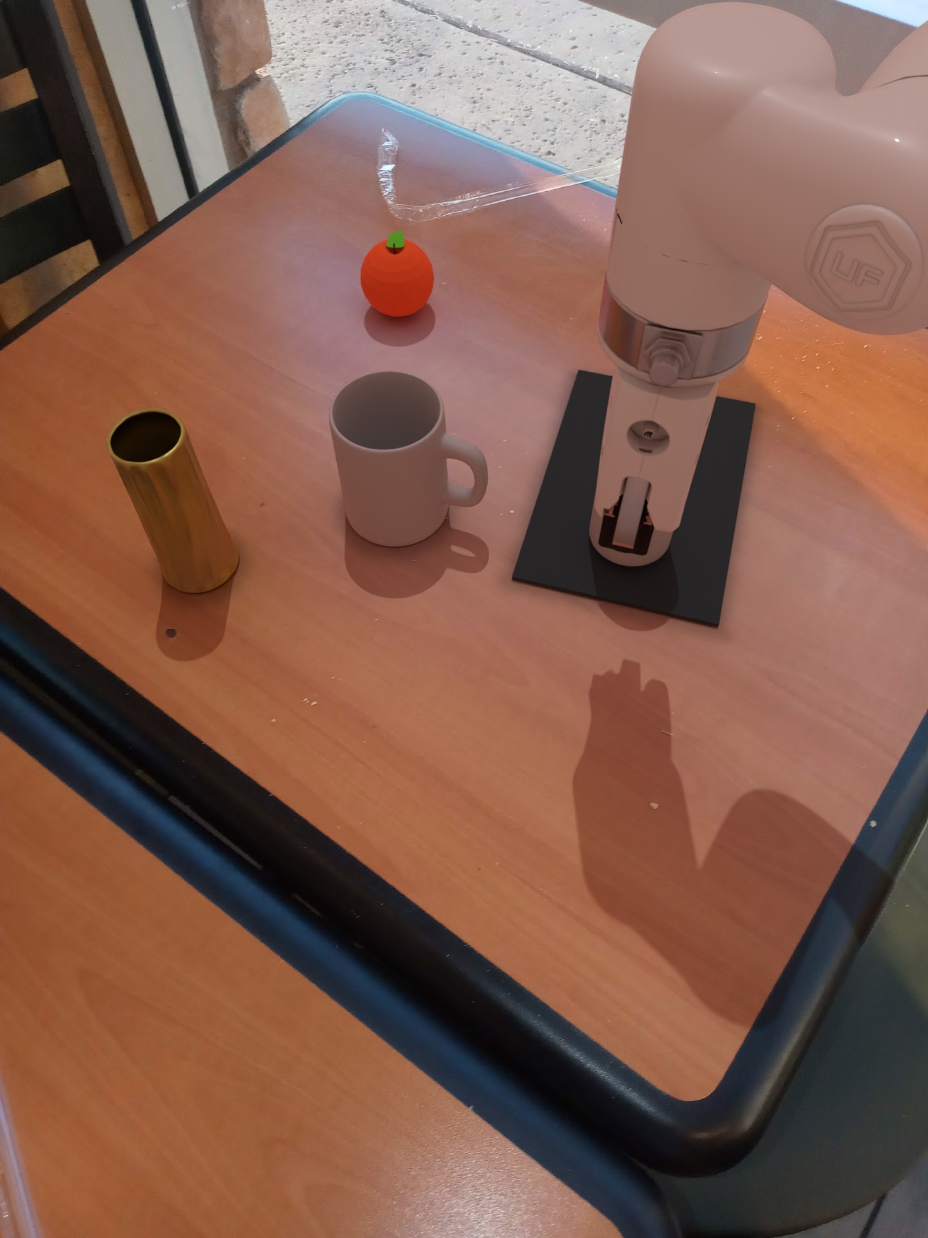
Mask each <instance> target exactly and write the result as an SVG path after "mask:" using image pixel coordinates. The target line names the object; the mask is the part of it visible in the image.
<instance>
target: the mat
mask: <svg viewBox="0 0 928 1238" xmlns="http://www.w3.org/2000/svg"><path fill="white" fill-rule="evenodd" d="M612 378H613V375H609V374H606V373H605V374H604V373H600V372H593V371H589V370H583V369H578V370H577V373H576V376H575V379H574V382H573V385H572V389H571V391H570V395H569V398H568V401H567V404H566V407H565V410H564V413H563V417H562V419H561V423H560V426H559V429H558V432H557V435H556V438H555V441H554V444H553V447H552V451H551V454H550V456H549V460H548V463H547V466H546V470H545V473H544V475H543V479H542V482H541V485H540V488H539V490H538V494H537V498H536V501H535V504H534V506H533V510H532V513H531V516H530V519H529V522H528V525H527V529H526V532H525V534H524V538H523V542H522V544H521V548H520V549H519V550H520V551H519V554H518V557H517V560H516V562H515V566H514V569H513V572H512V575H511V580H513V581H518V582H522V583H526V584H530V585H535V586H539V587H544V588H548V589H552V590H557V591H560V592H565V593H570V594H574V595H579V596H582V597H586V598H590V599H595V600H599V601H604V602H609V603H613V604H616V605H622V606H626V607H630V608H634V609H639V610H643V611H647V612H651V613H656V614H660V615H664V616H669V617H673V618H677V619H681V620H685V621H691V622H695V623H699V624H703V625H706V626H707V625H708V626H712V627H715V628H716V627H717V628H718V627H719V625H720V620H721V615H722V610H723V609H722V608H723V603H724V597H725V589H726V584H727V578H728V573H729V567H730V560H731V555H732V550H733V549H732V548H733V542H734V537H735V531H736V524H737V519H738V514H739V513H738V512H739V507H740V501H741V494H742V488H743V484H744V483H743V482H744V476H745V471H746V464H747V459H748V453H749V447H750V440H751V435H752V428H753V423H754V417H755V410H756V402H750V401H745V400H740V399H735V398H730V397H725V396H719V395H716V399H715V403H714V407H713V410H712V414H711V417H710V421H709V424H708V428H707V431H706V435H705V438H704V441H703V445H702V448H701V452H700V455H699V458H698V462H697V465H696V468H695V472H694V475H693V479H692V482H691V485H690V489H689V492H688V496H687V499H686V503H685V507H684V510H683V514H682V518H681V521H680V525H679V527H678V528H676V529H675V530H674V531H673V534H672V537H671V540H670V544H669V546H668V548H667V550H666V552H665V553H664V554H663V555H662V556H661V557H660V558H659V559H657V560H656V561H654V562H652V563H649V564H646V565H642V566H625V565H620V564H617V563H614V562H612V561H610V560H608V559H606V558H605V557H603V556H602V555H601V554H600V553H599V552H598V551H597V550H596V549H595V547H594V546H593V544H592V541H591V538H590V535H589V527H590V521H591V516H592V510H593V504H594V499H595V493H596V487H597V478H598V470H599V462H600V454H601V447H602V440H603V433H604V426H605V420H606V414H607V408H608V402H609V396H610V389H611V383H612Z"/></svg>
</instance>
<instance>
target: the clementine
mask: <svg viewBox="0 0 928 1238" xmlns="http://www.w3.org/2000/svg"><path fill="white" fill-rule="evenodd" d="M361 264H362V265H361V267H360V275H359V276H360V277H359V278H360V287H361V289H362V293H363V295H364V297H365V299H366V300H367V302H368V303H369V304H370V306H372V307H373V308H374V309H375V310H377V311H378V312H380V313H381V314H383V315H386V316H389V317H394V318H401V317H407V316H411V315H413V314H415V313H417V312H418V311H419V310H421V309H422V308H423V307H424V306H425V305H426V304H427V302H428V301H429V299H430V297H431V295H432V292H433V289H434V283H435V273H434V269H433V264H432V262H431V261H430V258H429V256H428V255H427V253H426V252H425V251H424V250H423V248H421V247H420V246H419V245H418V244H416V243H415V242H413V241H411V240H408V239H405V235H404V232H403V231H402V230H394V231H392V232H391V233H390V235H389V236H388V238H387V239H384V240H382V241H379V242H377V243H376V244H375V245H373V246H372V247H371V249H370V250H369V251H368V252H367V253H366V255H365V256H364V259H363V261H362V263H361Z"/></svg>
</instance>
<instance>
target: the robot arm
mask: <svg viewBox="0 0 928 1238" xmlns="http://www.w3.org/2000/svg"><path fill="white" fill-rule="evenodd" d="M836 67H837V65H836V58H835V56H834V54H833V50H832V47H831V44H830V43H829V42H828V40H827V39H826V38H825V37H824V36H823V34H822V33H821V32H820V31H819V30H818V29H817V28H816V27H815V26H814V25H813V24H811V23H810V22H809V21H807V20H805V19H804V18H802V17H799V16H798V15H796V14H793V13H791V12H789V11H786V10H783V9H781V8H777V7H773V6H769V5H766V4H759V3H753V2H744V1H743V2H742V1H722V2H711V3H704V4H699V5H696V6H693V7H690V8H687V9H684V10H682V11H680V12H678V13H677V14H675V15H672V16H671V17H670V18H667V20H665V21H664V22H662V24H660V25H659V26H658V27H657V28H656V29H655V31H653V32H652V33H651V35H650V36H649V38H648V40H647V41H646V43H645V45H644V47H643V49H642V51H641V53H640V55H639V58H638V61H637V65H636V68H635V74H634V79H633V83H632V84H633V85H632V92H631V98H630V104H629V110H628V111H629V112H628V117H627V122H626V123H627V124H626V131H625V139H624V143H623V151H622V157H621V165H620V170H619V177H618V184H617V192H616V198H615V206H614V211H613V217H612V224H611V231H610V238H609V246H608V252H607V257H606V265H605V273H604V279H603V286H602V292H601V293H602V294H601V299H600V305H599V313H598V320H597V332H596V333H597V338H598V342H599V345H600V347H601V349H602V351H603V352H604V354H605V355H606V356H607V358H608V359H609V360H610V361H611V362H612V363H613V364H614V365H613V372H612V376H613V378H612V383H611V389H610V396H609V402H608V408H607V414H606V420H605V426H604V433H603V440H602V447H601V454H600V462H599V470H598V478H597V487H596V496H595V509H596V511H597V513H598V514H599V515H600V516H601V517H603V520H602V525H601V530H600V535H599V540H598V544H599V545H600V546H602V547H605V548H609V549H613V550H615V551H618V552H622V553H632V554H636V555H641V556H644V555H646V554H647V552H648V549H649V545H650V542H651V538H652V534H653V531H654V527H655V529H656V530H659V531H665V532H672V531H674V530H675V529H676V528H678V527H679V525H680V521H681V518H682V514H683V510H684V507H685V503H686V499H687V496H688V492H689V489H690V485H691V482H692V479H693V475H694V472H695V468H696V465H697V462H698V458H699V455H700V452H701V448H702V445H703V441H704V438H705V435H706V431H707V428H708V424H709V421H710V417H711V414H712V410H713V407H714V403H715V399H716V396H718V392H719V391H718V390H719V387H720V382H721V381H723V380H725V379H726V378H728V377H730V376H732V375H733V374H734V373H736V372H737V371H738V370H739V369H740V368H741V367H742V366H743V365H744V364H745V362H746V361H747V358H748V356H749V354H750V351H751V349H752V346H753V342H754V339H755V336H756V333H757V330H758V327H759V324H760V321H761V318H762V315H763V313H764V309H765V306H766V303H767V300H768V297H769V293H770V290H771V287H772V285H773V286H774V287H776V288H777V289H778V290H780V291H782V292H783V293H784V294H785V295H787V296H788V297H790V298H792V299H793V300H794V301H796V302H797V303H799V304H801V305H802V306H804V307H805V308H807V309H808V310H810V311H811V312H813V313H815V314H816V315H819V316H820V317H821V318H823V319H826V320H828V321H829V322H832V323H833V324H836V325H838V326H841V327H843V328H846V329H849V330H851V331H856V332H859V333H861V334H862V333H863V334H865V335H866V334H867V335H873V336H874V335H875V336H901V335H906V334H910V333H914V332H918V331H921V330H924V329H926V328H928V19H927V20H926V21H924V22H923V23H922V24H920V25H919V26H918V27H916V28H915V29H914V30H913V31H911V33H909V34H908V35H907V36H906V37H905V38H904V39H902V40H901V41H900V42H899V43H898V44H897V45H896V46H895V47H894V48H893V49H892V50H891V51H890V53H889V54H888V55H886V57H885V58H884V59H883V61H881V63H880V64H879V65H878V66H877V68H876V69H875V70H874V71H873V72H872V73H871V75H869V77H868V79H867V80H866V81H865V82H864V84H863V85H862V86H861V88H860V89H858V92H857V93H855V94H852V95H841V94H840V93H839V92H838V91H837V88H836V86H837V68H836ZM603 514H604V515H603Z"/></svg>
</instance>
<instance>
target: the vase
mask: <svg viewBox="0 0 928 1238" xmlns="http://www.w3.org/2000/svg"><path fill="white" fill-rule="evenodd" d="M105 446H106V450H107V452H108V455H109V456H110V458H111V460H112V461H113V462H112V463H113V464H114V466H115V468H116V470H117V472H118V475H119V477H120V479H121V481H122V483H123V486H124V487H125V490H126V492H127V494H128V497H129V498H130V500H131V503H132V505H133V508H134V510H135V513H136V514H137V516H138V518H139V521H140V523H141V526H142V528H143V531H144V532H145V535H146V537H147V539H148V541H149V544H150V545H151V548H152V550H153V552H154V554H155V556H156V559H157V561H158V564H159V568H160V571H161V575H162V577H163V579H164V580H165V582H166V583H167V584H168V585H170V586H171V587H172V588H174V589H176V590H178V591H180V592H182V593H188V594H189V593H190V594H200V593H206V592H209V591H212V590H214V589H216V588H219V587H221V586H222V585H223V584H225V583H226V582H227V581H228V580H229V579H230V578H231V577H232V575H233V574H234V572H236V570H237V567H238V564H239V562H240V561H239V559H240V552H239V548H238V546H237V544H236V542H235V541H234V540H233V538H232V537H231V535H230V532H229V530H228V528H227V526H226V524H225V521H224V519H223V517H222V515H221V512H220V510H219V507H218V504H217V503H216V500H215V498H214V495H213V493H212V491H211V488H210V487H209V484H208V482H207V481H208V480H207V479H206V476H205V474H204V472H203V469H202V466H201V464H200V461H199V458H198V457H197V453H196V451H195V448H194V446H193V444H192V441H191V438H190V435H189V432H188V429H187V427H186V425H185V423H184V421H183V420H182V419H181V417H180V416H178V415H177V414H176V413H174V412H173V411H171V410H168V409H165V408H160V407H145V408H141V409H136V410H134V411H131V412H128V413H126V414H125V415H123V416H122V417H121V418H119V419H118V420H117V421H116V422H115V423H114V424H113V425H112V426H111V428H110V429H109V431H108V433H107V435H106V438H105Z"/></svg>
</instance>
